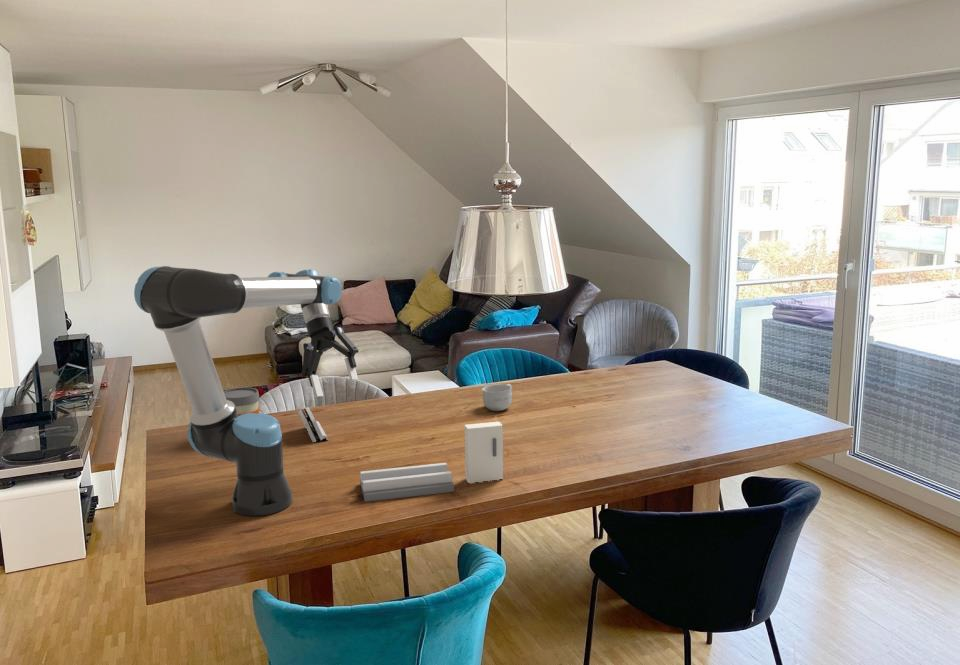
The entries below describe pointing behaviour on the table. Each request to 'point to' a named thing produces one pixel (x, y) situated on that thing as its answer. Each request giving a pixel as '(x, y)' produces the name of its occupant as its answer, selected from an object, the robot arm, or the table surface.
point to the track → (406, 482)
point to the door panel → (483, 452)
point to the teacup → (497, 396)
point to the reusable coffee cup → (244, 399)
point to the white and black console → (315, 425)
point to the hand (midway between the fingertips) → (336, 388)
